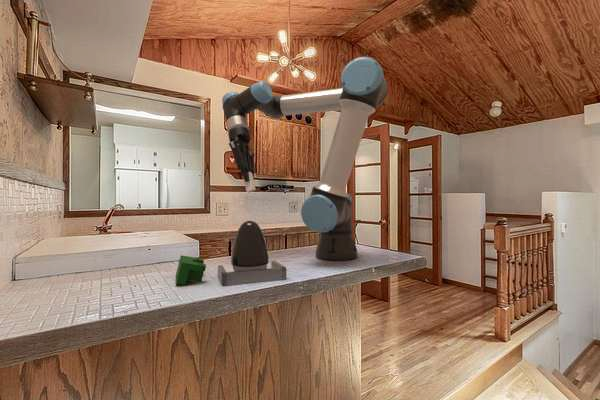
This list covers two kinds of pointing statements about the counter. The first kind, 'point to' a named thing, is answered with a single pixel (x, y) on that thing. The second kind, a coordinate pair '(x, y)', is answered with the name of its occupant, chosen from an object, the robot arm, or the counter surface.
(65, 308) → the counter surface
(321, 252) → the robot arm
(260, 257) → the dark rounded piece
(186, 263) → the green stepped block
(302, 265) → the counter surface
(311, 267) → the counter surface
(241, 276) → the bracket
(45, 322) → the counter surface
